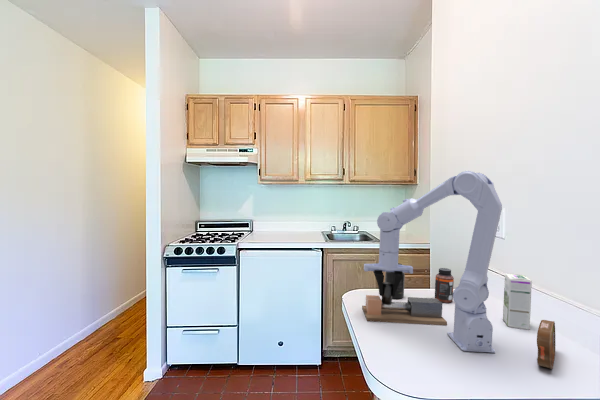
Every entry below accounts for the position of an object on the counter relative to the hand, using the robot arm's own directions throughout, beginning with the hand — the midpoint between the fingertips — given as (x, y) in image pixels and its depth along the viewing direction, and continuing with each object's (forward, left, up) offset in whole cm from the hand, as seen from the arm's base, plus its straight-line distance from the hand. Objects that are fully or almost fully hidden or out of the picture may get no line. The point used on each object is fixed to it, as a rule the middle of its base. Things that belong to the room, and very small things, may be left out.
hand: (386, 295), depth 100 cm
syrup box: (-2, -38, -7) cm, 38 cm away
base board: (0, -5, -6) cm, 8 cm away
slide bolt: (0, -3, -4) cm, 5 cm away
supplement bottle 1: (+19, -7, -7) cm, 21 cm away
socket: (0, +4, -6) cm, 8 cm away
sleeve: (0, -12, -6) cm, 13 cm away
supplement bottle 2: (+17, -24, -7) cm, 30 cm away
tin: (-22, -33, -7) cm, 40 cm away
